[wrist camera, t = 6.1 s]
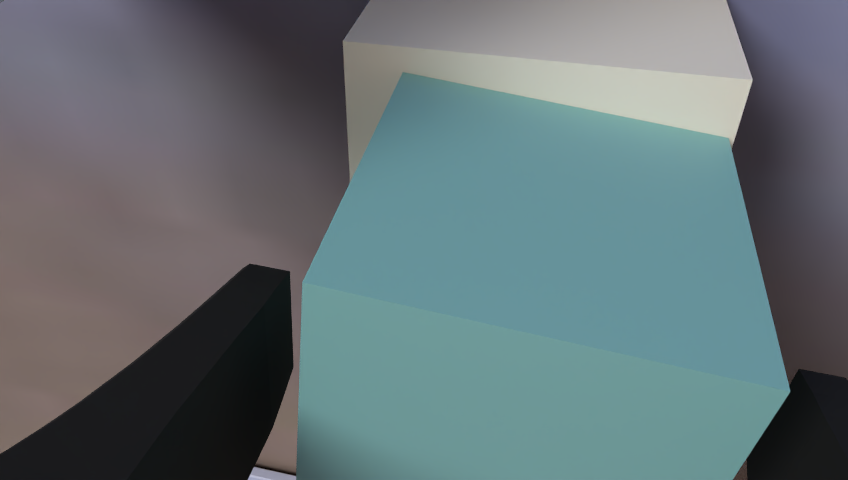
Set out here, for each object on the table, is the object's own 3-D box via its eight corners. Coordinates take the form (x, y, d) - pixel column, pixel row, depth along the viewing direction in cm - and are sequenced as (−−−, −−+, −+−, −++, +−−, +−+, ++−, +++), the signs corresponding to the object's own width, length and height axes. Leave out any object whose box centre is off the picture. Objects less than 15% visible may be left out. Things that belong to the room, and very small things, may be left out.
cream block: (654, 242, 18) (664, 369, 15) (399, 210, 18) (357, 324, 15) (720, -17, 14) (752, 79, 11) (398, -43, 15) (342, 41, 12)
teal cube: (630, 361, 15) (639, 622, 11) (375, 304, 15) (294, 536, 11) (728, 137, 11) (789, 391, 8) (402, 72, 12) (302, 281, 8)
